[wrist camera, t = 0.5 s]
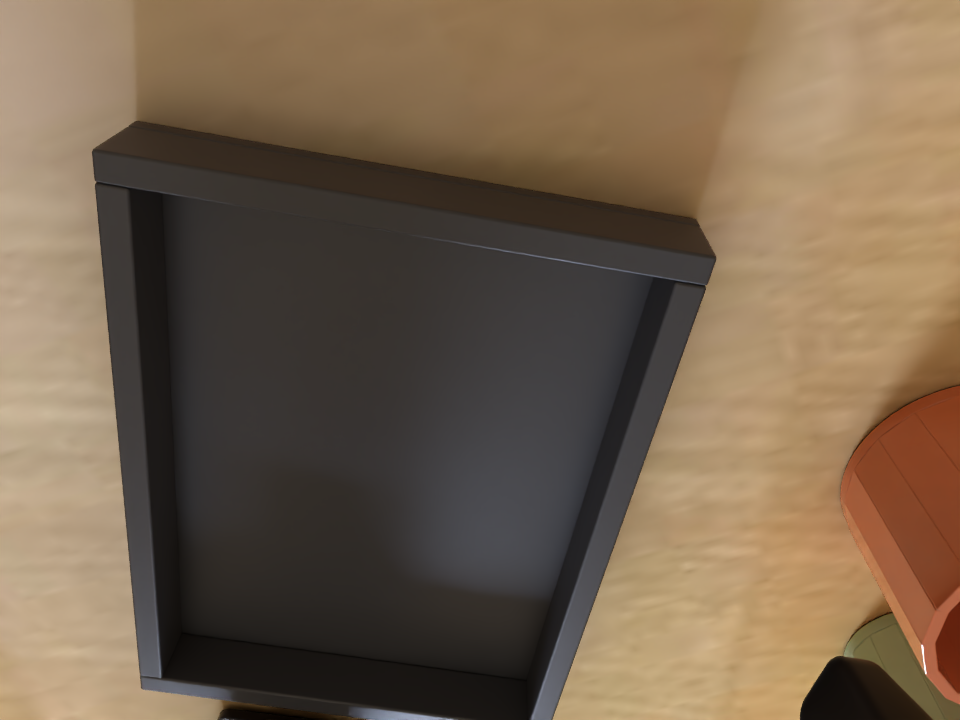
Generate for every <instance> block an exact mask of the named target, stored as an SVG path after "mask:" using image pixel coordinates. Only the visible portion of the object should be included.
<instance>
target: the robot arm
mask: <svg viewBox="0 0 960 720" xmlns="http://www.w3.org/2000/svg"><path fill="white" fill-rule="evenodd" d="M218 720H310V719H303V718H295V717H287V716H280V715H272V714H265V713H257V712H250V711H242V710H234V709H226V710H223V711H222V712H221V713H220V716H219V718H218ZM800 720H933V719H932V718H931V717H930V716H929V715H928V714H927V713H926V712H925V711H924V710H923V709H922V708H921V707H920V706H919V705H918V704H917V703H916V702H915V701H914V700H913V699H912V698H911V697H910V696H909V695H908V694H907V693H906V692H905V691H904V690H903V689H902V688H901V687H900V686H899V685H898V684H897V683H896V682H895V681H894V680H893V679H892V678H891V677H890V676H889V675H888V674H887V673H886V672H885V671H884V670H883V669H882V668H881V667H880V666H879V665H877V664H876V663H874V662H872V661H869V660H864V659H858V658H851V657H845V656H837V657H835V658H833V659H831V660H830V661H829V662H828V663H827V665H826V667H825V668H824V670H823V671H822V673H821V674H820V676H819V677H818V679H817V680H816V682H815V683H814V685H813V687H812V688H811V690H810V691H809V693H808V694H807V696H806V697H805V699H804V701H803V704H802V707H801V713H800Z"/></svg>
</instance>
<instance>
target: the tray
mask: <svg viewBox="0 0 960 720" xmlns="http://www.w3.org/2000/svg"><path fill="white" fill-rule="evenodd" d="M92 156H93V167H94V178H95V181H96V182H97V183H96V184H95V190H96V201H97V212H98V223H99V234H100V245H101V255H102V266H103V277H104V288H105V299H106V310H107V321H108V332H109V343H110V354H111V364H112V375H113V386H114V397H115V408H116V419H117V430H118V441H119V452H120V463H121V473H122V484H123V495H124V506H125V517H126V528H127V539H128V550H129V561H130V572H131V582H132V593H133V604H134V615H135V626H136V637H137V648H138V659H139V670H140V679H141V688H142V689H143V690H151V691H158V692H166V693H173V694H181V695H188V696H196V697H204V698H211V699H219V700H226V701H234V702H241V703H249V704H256V705H264V706H272V707H279V708H287V709H294V710H302V711H309V712H317V713H324V714H332V715H339V716H347V717H355V718H362V719H370V720H552V719H553V716H554V713H555V710H556V708H557V705H558V702H559V699H560V696H561V694H562V691H563V688H564V685H565V682H566V680H567V677H568V674H569V671H570V668H571V666H572V663H573V660H574V657H575V654H576V652H577V649H578V646H579V643H580V640H581V638H582V635H583V632H584V629H585V626H586V624H587V621H588V618H589V615H590V612H591V610H592V607H593V604H594V601H595V598H596V596H597V593H598V590H599V587H600V584H601V582H602V579H603V576H604V573H605V570H606V568H607V565H608V562H609V559H610V556H611V554H612V551H613V548H614V545H615V542H616V540H617V537H618V534H619V531H620V528H621V525H622V523H623V520H624V517H625V514H626V511H627V509H628V506H629V503H630V500H631V497H632V495H633V492H634V489H635V486H636V483H637V481H638V478H639V475H640V472H641V469H642V467H643V464H644V461H645V458H646V455H647V453H648V450H649V447H650V444H651V441H652V439H653V436H654V433H655V430H656V427H657V425H658V422H659V419H660V416H661V413H662V411H663V408H664V405H665V402H666V399H667V397H668V394H669V391H670V388H671V385H672V383H673V380H674V377H675V374H676V371H677V369H678V366H679V363H680V360H681V357H682V355H683V352H684V349H685V346H686V343H687V341H688V338H689V335H690V332H691V329H692V326H693V324H694V321H695V318H696V315H697V312H698V310H699V307H700V304H701V301H702V298H703V296H704V293H705V290H706V286H705V285H707V284H708V282H709V279H710V276H711V273H712V270H713V268H714V265H715V262H716V255H715V253H714V252H713V250H712V248H711V246H710V244H709V243H708V241H707V239H706V237H705V235H704V233H703V232H702V230H701V228H700V226H699V224H698V222H697V220H696V219H692V218H687V217H681V216H675V215H670V214H664V213H658V212H652V211H647V210H641V209H635V208H630V207H624V206H618V205H612V204H607V203H601V202H595V201H590V200H584V199H578V198H573V197H567V196H561V195H555V194H550V193H544V192H538V191H533V190H527V189H521V188H515V187H510V186H504V185H498V184H493V183H487V182H481V181H475V180H470V179H464V178H458V177H453V176H447V175H441V174H436V173H430V172H424V171H418V170H413V169H407V168H401V167H396V166H390V165H384V164H378V163H373V162H367V161H361V160H356V159H350V158H344V157H339V156H333V155H327V154H321V153H316V152H310V151H304V150H299V149H293V148H287V147H281V146H276V145H270V144H264V143H259V142H253V141H247V140H241V139H236V138H230V137H224V136H219V135H213V134H207V133H202V132H196V131H190V130H184V129H179V128H173V127H167V126H162V125H156V124H150V123H144V122H139V121H136V122H134V123H132V124H131V125H129V127H127V128H125V129H124V130H122V131H121V132H119V133H118V134H116V135H114V136H113V137H111V138H110V139H108V140H107V141H105V142H104V143H102V144H100V145H99V146H97V147H96V148H94V149H93V151H92Z"/></svg>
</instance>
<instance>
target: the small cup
mask: <svg viewBox="0 0 960 720" xmlns="http://www.w3.org/2000/svg"><path fill="white" fill-rule="evenodd" d="M844 656H845V657H851V658H858V659H864V660H869V661H872V662H874V663H876V664H877V665H879V666H880V667H881V668H882V669H883V670H884V671H885V672H886V673H887V674H888V675H889V676H890V677H891V678H892V679H893V680H894V681H895V682H896V683H897V684H898V685H899V686H900V687H901V688H902V689H903V690H904V691H905V692H906V693H907V694H908V695H909V696H910V697H911V698H912V699H913V700H914V701H915V702H916V703H917V704H918V705H919V706H920V707H921V708H922V709H923V710H924V711H925V712H926V713H927V714H928V715H929V716H930V717H931V718H932V719H933V720H960V705H959V704H957V703H955V702H953V701H950V700H948V699H946V698H945V697H944V696H943V695H942V694H941V692H940V691H939V690H938V689H937V688H936V687H935V685H934V684H933V683H932V682H931V681H930V679H929V678H928V677H927V676H926V675H925V673H924V671H923V669H922V667H921V665H920V663H919V662H918V660H917V658H916V656H915V654H914V652H913V650H912V648H911V646H910V644H909V642H908V641H907V639H906V637H905V635H904V633H903V631H902V629H901V627H900V625H899V623H898V622H897V620H896V618H895V616H894V614H893V613H890V614H887V615H884V616H882V617H879V618H877V619H875V620H873V621H871V622H869V623H868V624H866V625H865V626H863V627H862V628H861V629H860V630H858V631H857V632H856V633H855V634H854V635H853V636H852V638H851V639H850V640H849V642H848V644H847V646H846V649H845V652H844Z"/></svg>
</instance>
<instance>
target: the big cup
mask: <svg viewBox="0 0 960 720" xmlns="http://www.w3.org/2000/svg"><path fill="white" fill-rule="evenodd" d="M840 497H841V506H842V510H843V514H844V517H845V519H846V521H847V523H848V526H849V530H850V532H851V534H852V536H853V538H854V540H855V541H856V543H857V545H858V547H859V549H860V551H861V553H862V555H863V557H864V559H865V561H866V562H867V564H868V566H869V568H870V570H871V572H872V574H873V576H874V578H875V580H876V581H877V583H878V585H879V587H880V589H881V591H882V593H883V595H884V597H885V599H886V601H887V602H888V604H889V606H890V608H891V610H892V612H893V614H894V616H895V618H896V620H897V622H898V623H899V625H900V627H901V629H902V631H903V633H904V635H905V637H906V639H907V641H908V642H909V644H910V646H911V648H912V650H913V652H914V654H915V656H916V658H917V660H918V662H919V663H920V665H921V667H922V669H923V671H924V673H925V675H926V676H927V677H928V678H929V679H930V681H931V682H932V683H933V684H934V685H935V687H936V688H937V689H938V690H939V691H940V692H941V694H942V695H943V696H944V697H945V698H946V699H948V700H950V701H953V702H955V703H957V704H959V705H960V386H956V387H951V388H948V389H945V390H941V391H938V392H935V393H932V394H930V395H928V396H925V397H923V398H920V399H918V400H916V401H914V402H912V403H910V404H908V405H907V406H905V407H903V408H901V409H900V410H898V411H897V412H895V413H894V414H892V415H891V416H889V417H888V418H887V419H885V420H884V421H883V422H882V423H880V424H879V425H878V426H877V427H876V428H875V429H874V430H873V431H872V432H871V433H870V434H869V435H868V436H867V437H866V438H865V439H864V440H863V441H862V443H861V444H860V445H859V446H858V448H857V449H856V451H855V452H854V454H853V455H852V457H851V459H850V460H849V463H848V465H847V467H846V469H845V472H844V476H843V479H842V483H841V493H840Z"/></svg>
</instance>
